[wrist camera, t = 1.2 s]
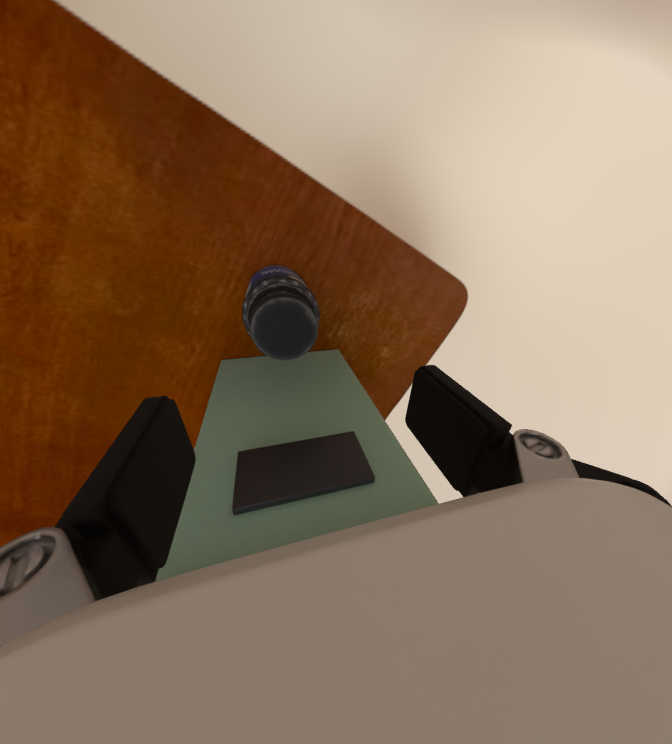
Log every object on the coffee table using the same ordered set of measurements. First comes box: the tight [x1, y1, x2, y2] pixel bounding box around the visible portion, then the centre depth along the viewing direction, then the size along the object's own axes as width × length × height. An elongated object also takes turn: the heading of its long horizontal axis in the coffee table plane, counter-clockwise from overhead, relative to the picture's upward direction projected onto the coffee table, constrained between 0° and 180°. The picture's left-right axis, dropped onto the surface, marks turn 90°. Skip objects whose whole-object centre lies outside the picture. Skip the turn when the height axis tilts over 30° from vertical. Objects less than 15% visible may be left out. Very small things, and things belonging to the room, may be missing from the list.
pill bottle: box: [242, 265, 320, 360], centre depth 21 cm, size 6×6×11 cm
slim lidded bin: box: [155, 349, 439, 582], centre depth 22 cm, size 9×15×24 cm, turn 89°
